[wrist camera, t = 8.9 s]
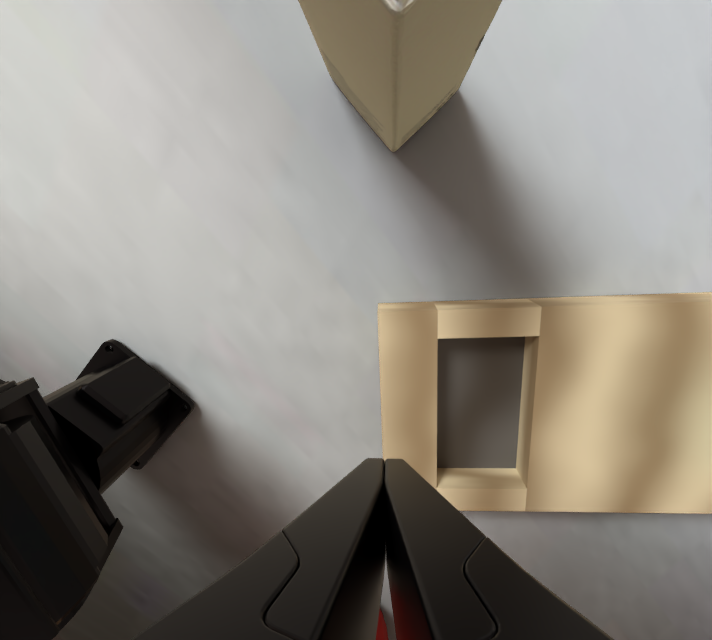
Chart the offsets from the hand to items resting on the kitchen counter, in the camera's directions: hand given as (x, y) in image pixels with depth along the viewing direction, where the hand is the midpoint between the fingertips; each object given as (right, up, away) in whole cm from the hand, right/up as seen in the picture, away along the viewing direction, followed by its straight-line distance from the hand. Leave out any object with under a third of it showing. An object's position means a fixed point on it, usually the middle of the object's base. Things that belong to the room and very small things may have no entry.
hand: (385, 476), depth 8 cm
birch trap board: (+19, -1, +12) cm, 23 cm away
